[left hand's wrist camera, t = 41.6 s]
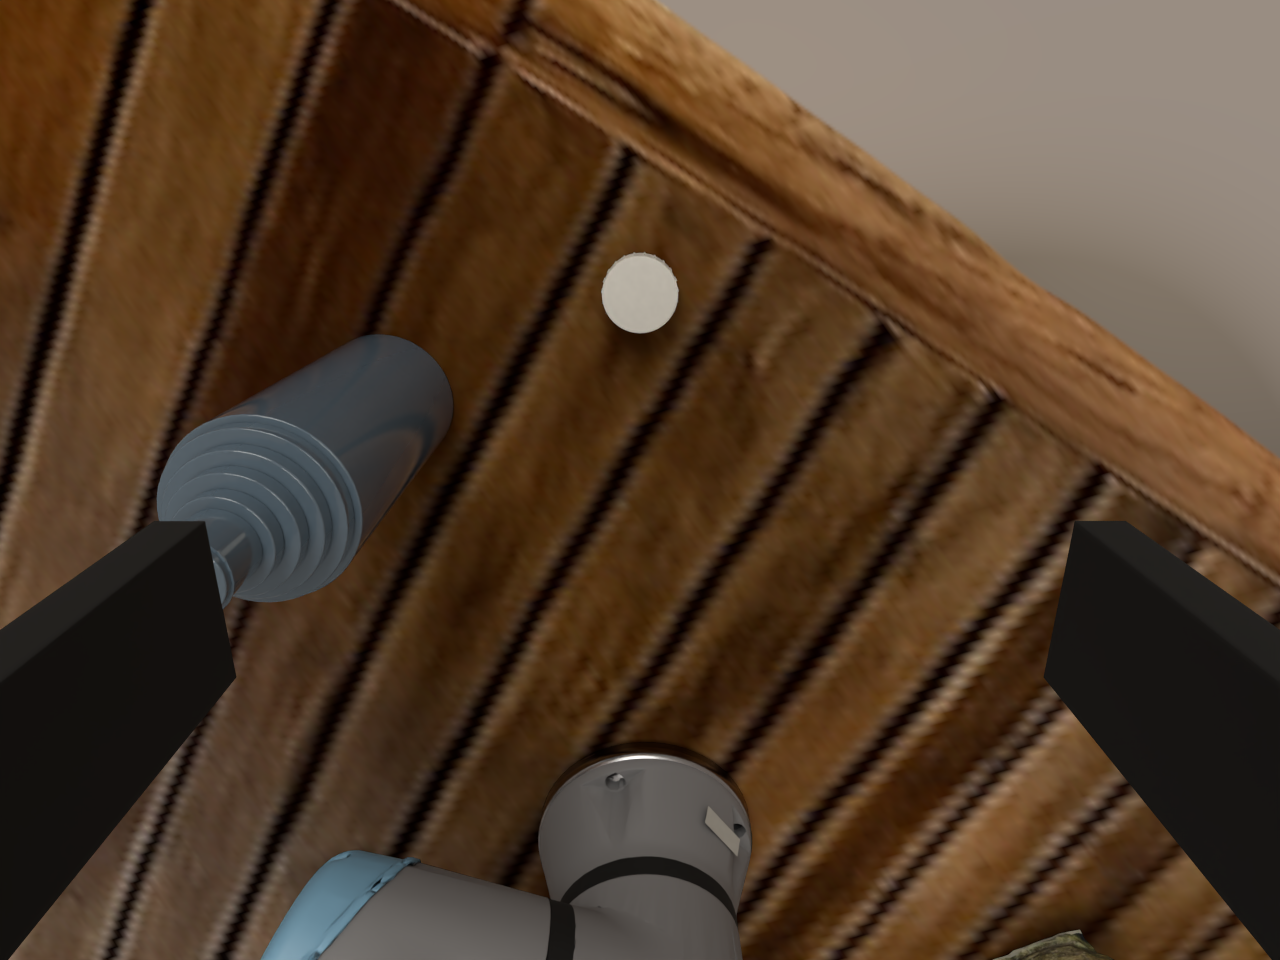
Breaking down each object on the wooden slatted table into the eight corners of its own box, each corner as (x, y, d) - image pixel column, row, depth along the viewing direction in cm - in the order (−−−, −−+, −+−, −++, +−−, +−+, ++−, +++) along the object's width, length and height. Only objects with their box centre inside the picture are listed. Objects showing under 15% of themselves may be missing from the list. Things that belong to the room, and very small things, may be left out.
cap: (633, 235, 46) (633, 237, 44) (693, 284, 47) (695, 288, 45) (587, 296, 47) (585, 301, 45) (646, 343, 48) (646, 349, 46)
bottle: (399, 308, 47) (189, 422, 25) (479, 422, 49) (351, 618, 27) (291, 379, 49) (3, 545, 27) (374, 486, 51) (173, 721, 29)
